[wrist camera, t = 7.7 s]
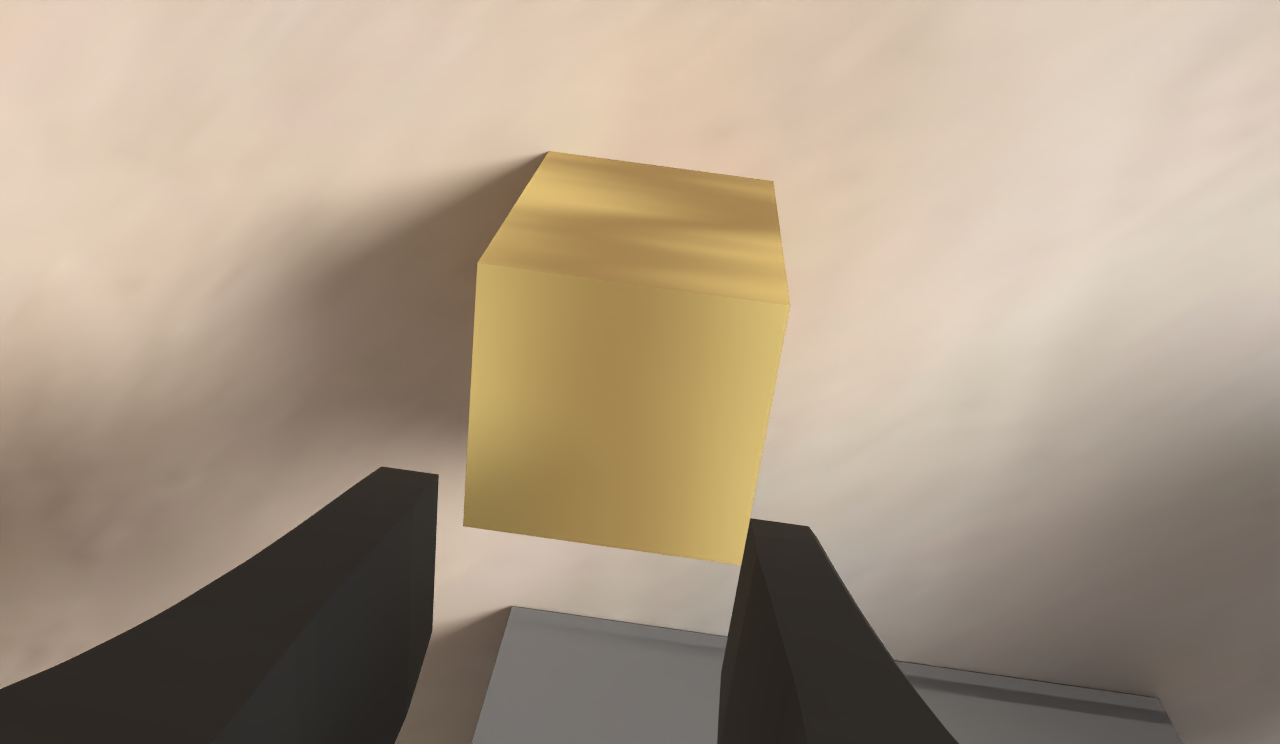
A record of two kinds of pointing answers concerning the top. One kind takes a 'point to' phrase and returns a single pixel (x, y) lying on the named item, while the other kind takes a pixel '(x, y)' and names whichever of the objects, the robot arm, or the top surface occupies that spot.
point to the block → (626, 358)
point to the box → (690, 691)
